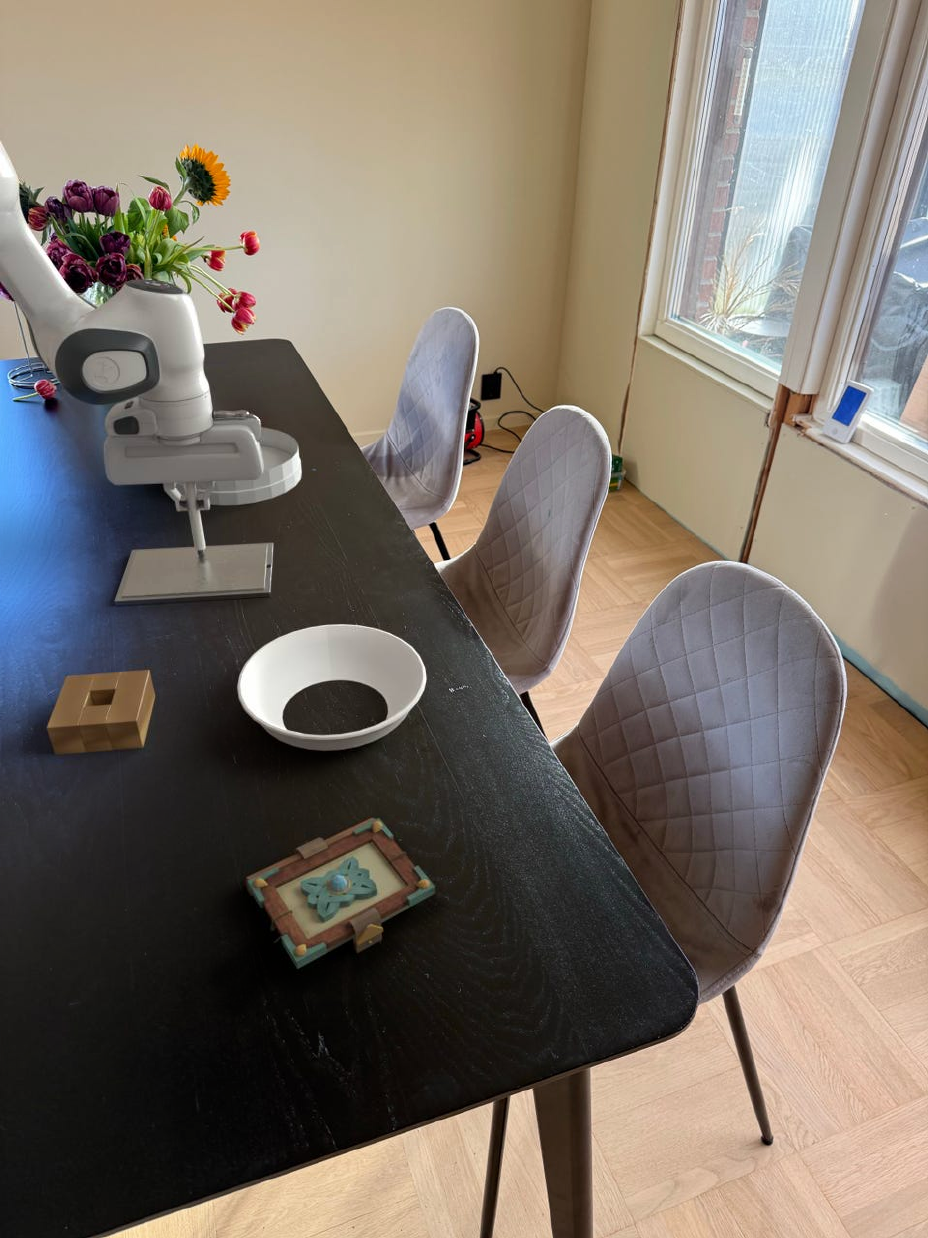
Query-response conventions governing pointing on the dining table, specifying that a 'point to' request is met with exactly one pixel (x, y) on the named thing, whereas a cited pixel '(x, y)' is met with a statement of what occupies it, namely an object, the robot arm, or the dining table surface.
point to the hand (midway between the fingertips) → (193, 509)
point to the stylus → (195, 517)
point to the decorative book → (338, 891)
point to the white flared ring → (331, 678)
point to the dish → (273, 482)
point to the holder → (102, 712)
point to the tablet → (196, 574)
